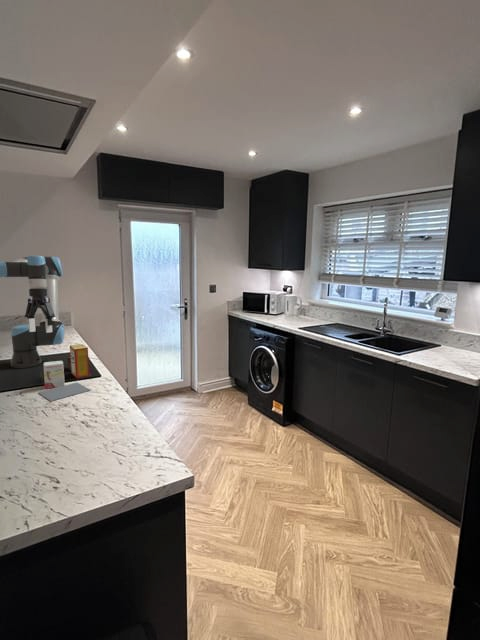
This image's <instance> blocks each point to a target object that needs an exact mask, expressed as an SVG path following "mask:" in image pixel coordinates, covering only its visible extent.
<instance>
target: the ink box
mask: <svg viewBox="0 0 480 640" xmlns="http://www.w3.org/2000/svg"><path fill="white" fill-rule="evenodd" d="M64 369H65V368H64V361H63V360H56V361H47V362H46V361H45V362H43V379H44V389H45V390H49V389H53V388H57V387H61V386H65V385H66V383H65V372H64V371H65V370H64Z"/></svg>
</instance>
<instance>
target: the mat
mask: <svg viewBox="0 0 480 640" xmlns="http://www.w3.org/2000/svg"><path fill="white" fill-rule="evenodd" d="M90 391H91V389H89V387H86V386H85V385H82V384H81V383H78V382H74V383H69V384H65V386H61V387H54V388H48V389H45V390H42V391H39V392H38V394H39V395H40V396H42V397H43V398H45V399H46V400H47V401H49V402H55V401H59V400H62V399H66V398H69V397H73V396H76V395H79V394H83V393H86V392H90Z"/></svg>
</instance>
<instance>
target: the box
mask: <svg viewBox="0 0 480 640" xmlns="http://www.w3.org/2000/svg"><path fill="white" fill-rule="evenodd" d="M67 366H68V371H71V358H70V356H68V357H67Z"/></svg>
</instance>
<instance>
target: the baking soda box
mask: <svg viewBox="0 0 480 640" xmlns="http://www.w3.org/2000/svg"><path fill="white" fill-rule="evenodd" d="M69 354H70V355H69V357H70V358H71V370H70V371H71V374H72V376H73V377H74V378H75V377H76V378H75V379H81V378H82V379H83V378H87V377H90V364H89V363H90V362H89V361H90V360H89V348H88V346H86V345H85V344H84V343H79V344H71V345H69ZM86 376H87V377H86Z"/></svg>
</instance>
